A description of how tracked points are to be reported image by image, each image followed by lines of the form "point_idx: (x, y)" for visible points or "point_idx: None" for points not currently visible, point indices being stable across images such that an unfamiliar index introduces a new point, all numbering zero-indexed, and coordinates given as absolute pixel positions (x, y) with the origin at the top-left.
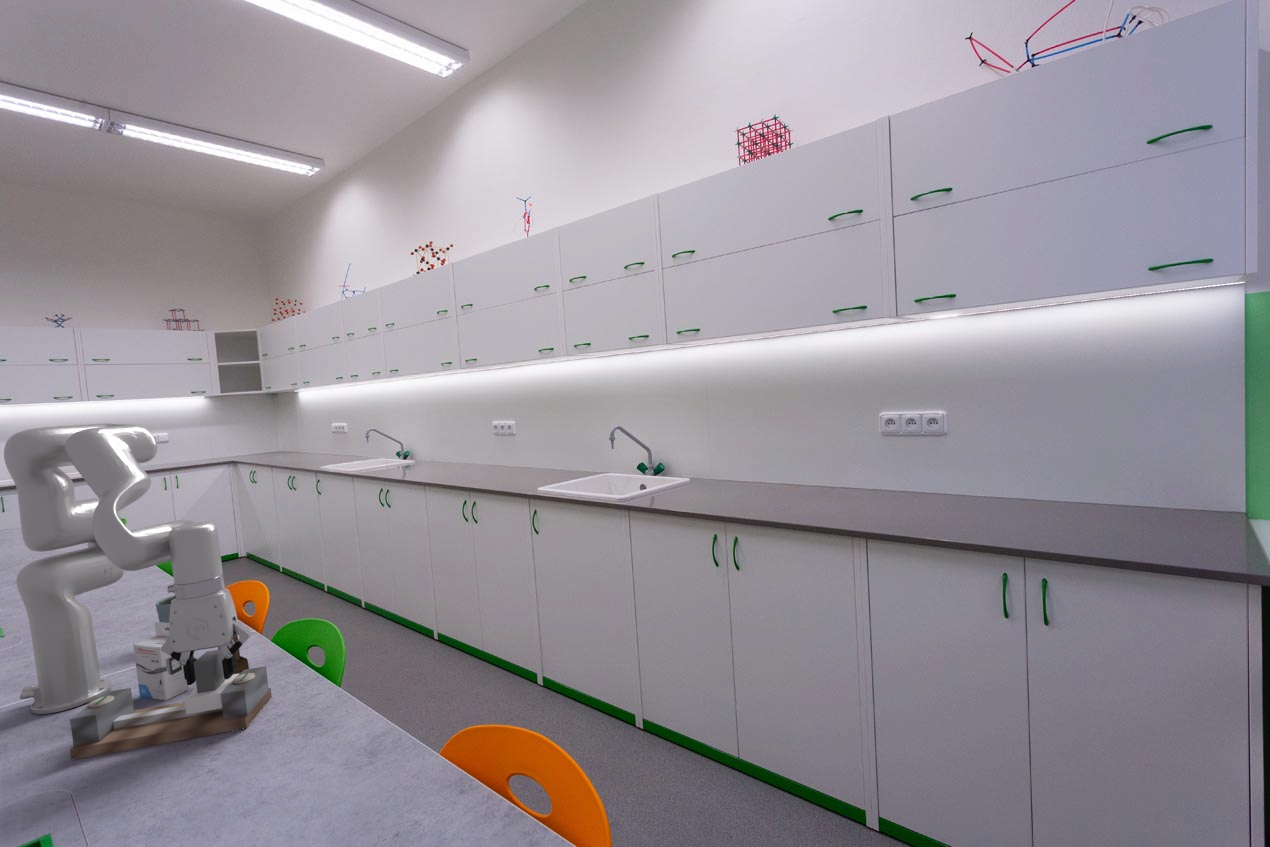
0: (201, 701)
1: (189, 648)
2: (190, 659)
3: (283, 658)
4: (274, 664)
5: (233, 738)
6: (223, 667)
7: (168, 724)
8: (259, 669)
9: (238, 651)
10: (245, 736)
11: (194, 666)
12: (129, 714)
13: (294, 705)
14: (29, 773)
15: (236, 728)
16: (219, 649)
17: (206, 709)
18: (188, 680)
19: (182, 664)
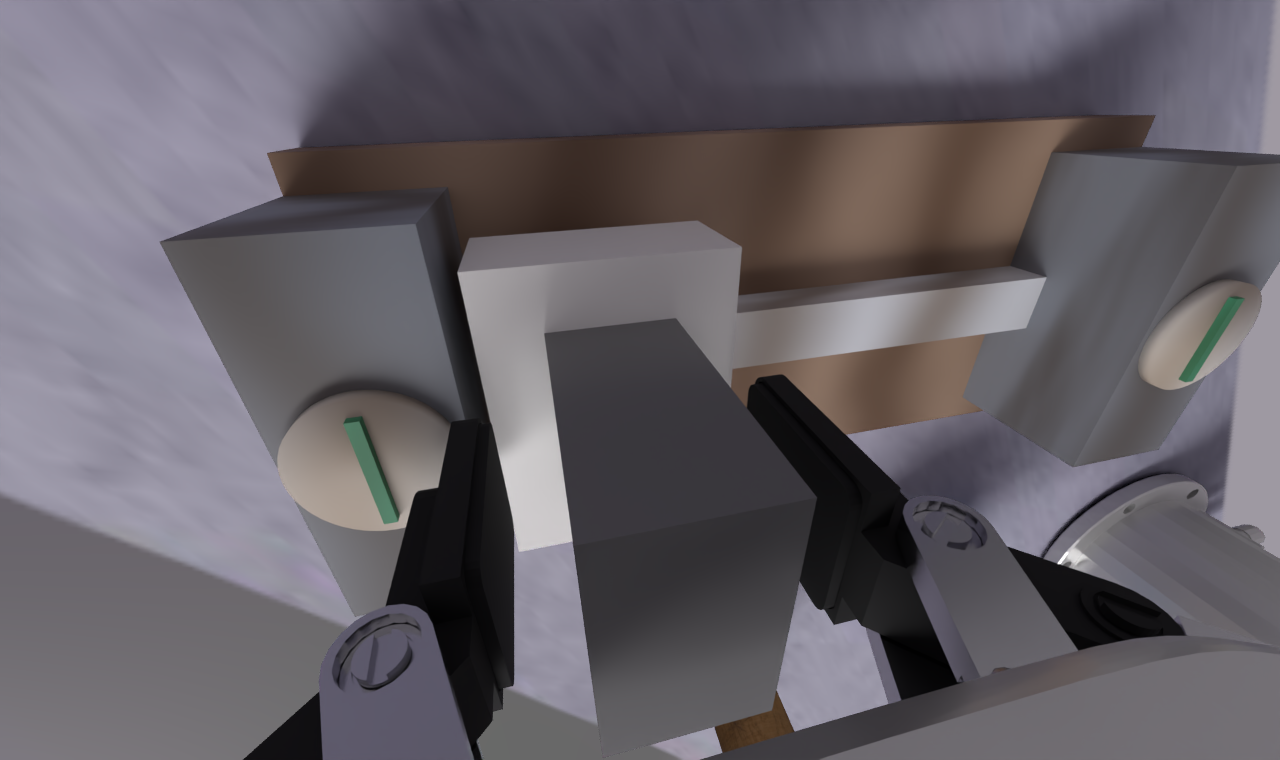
0: (611, 246)
1: (1075, 749)
2: (881, 579)
3: (575, 708)
4: (586, 680)
5: (305, 28)
6: (476, 499)
7: (782, 234)
8: (370, 582)
9: (715, 728)
10: (216, 25)
11: (780, 459)
12: (991, 331)
13: (165, 374)
14: (1219, 50)
15: (357, 145)
16: (787, 732)
17: (574, 231)
18: (787, 393)
19: (931, 510)
